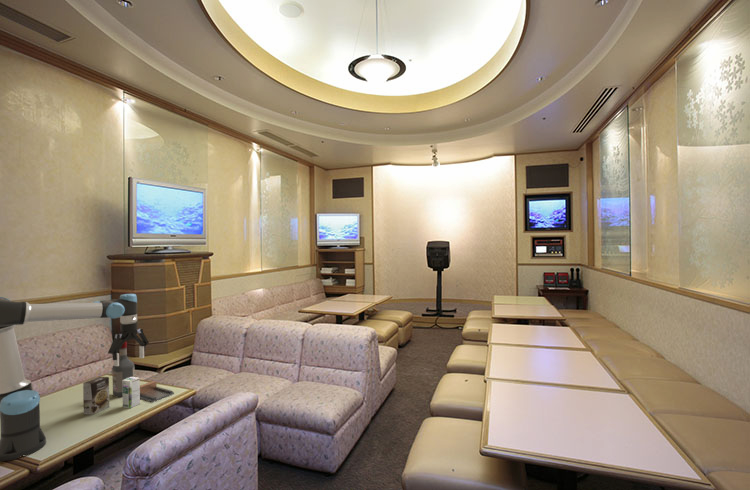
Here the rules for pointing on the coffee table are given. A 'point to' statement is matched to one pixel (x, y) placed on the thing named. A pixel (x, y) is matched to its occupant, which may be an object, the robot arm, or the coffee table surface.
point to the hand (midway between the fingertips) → (129, 361)
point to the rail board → (153, 392)
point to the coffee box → (96, 395)
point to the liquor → (122, 371)
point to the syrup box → (131, 392)
